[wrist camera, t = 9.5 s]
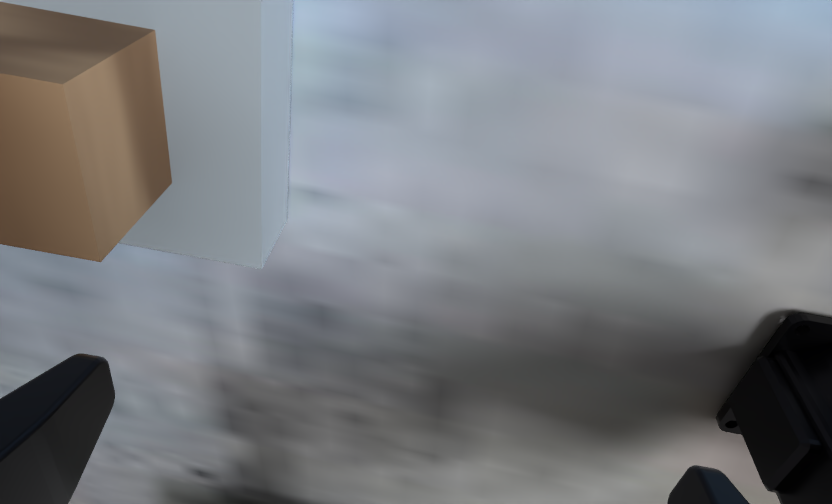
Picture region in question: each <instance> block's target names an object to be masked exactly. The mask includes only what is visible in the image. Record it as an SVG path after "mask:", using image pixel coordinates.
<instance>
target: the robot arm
mask: <svg viewBox="0 0 832 504" xmlns="http://www.w3.org/2000/svg"><path fill="white" fill-rule="evenodd" d="M802 325H803V326H802ZM799 326H802V327H799ZM797 327H799V328H797ZM114 399H115V390H114V386H113V381H112V377H111V373H110V368H109V364H108V361H107V360H106V359H105V358H103V357H99V356H94V355H88V354H76V355H73V356H71V357H69V358H68V359H66V360H64V361H63V362H61V363H59V364H58V365H56V366H54V367H53V368H51V369H49V370H48V371H46V372H44V373H43V374H41V375H39V376H38V377H36V378H34V379H33V380H31V381H29V382H28V383H26V384H24V385H23V386H21V387H19V388H17V389H16V390H14V391H12V392H11V393H9V394H7V395H6V396H4V397H2V398H1V399H0V504H68V503H69V501H70V499H71V497H72V495H73V493H74V491H75V489H76V487H77V484H78V482H79V480H80V478H81V476H82V473H83V471H84V469H85V467H86V465H87V462H88V460H89V458H90V456H91V454H92V451H93V449H94V447H95V445H96V443H97V440H98V438H99V436H100V434H101V432H102V429H103V427H104V425H105V423H106V420H107V418H108V416H109V414H110V412H111V409H112V407H113V404H114ZM716 420H717V423H718V425H719V428H720V429H721V430H723V431H725V432H730V433H736V434H741V435H743V437H744V440H745V442H746V445H747V447H748V449H749V452H750V454H751V456H752V459H753V461H754V464H755V466H756V468H757V471H758V473H759V475H760V478H761V480H762V482H763V484H764V486H765V487H766V489H767V490H768V491H770V492H776V494H777V496H778V499H779V501H780V503H781V504H832V318H828V317H823V316H817V315H812V314H806V313H797V314H793V315H791V316H789V317H787V318H786V319H785V320H784V322H783V323H782V324H781V326H780V327H779V329H778V330H777V331H776V333H775V334H774V336H773V337H772V338H771V340H770V341H769V343H768V344H767V345H766V347H765V348H764V350H763V351H762V352H761V354H760V355H759V357H758V358H757V359H756V361H755V362H754V364H753V365H752V366H751V368H750V369H749V371H748V372H747V373H746V375H745V376H744V378H743V379H742V380H741V382H740V383H739V385H738V386H737V387H736V389H735V390H734V392H733V393H732V394H731V396H730V397H729V399H728V400H727V401H726V403H725V404H724V406H723V407H722V408H721V410H720V411H719V413H718V414H717V416H716ZM668 504H749V503H748V501H747V500H746V499H745V498H744V497H743V496H742V494H741V493H740V492H739V491H738V490H737V488H736V487H735V486H734V485H733V484H732V482H731V481H730V480H729V479H728V478H727V477H726V476H725V474H723V473H722V472H721V471H719V470H717V469H714V468H708V467H703V466H697V465H694V466H691V467H689V468H688V470H687V471H686V472H685V474H684V475H683V476H682V478H681V479H680V480H679V482H678V483H677V485H676V486H675V487H674V489H673V490H672V491H671V493H670V495H669V498H668Z"/></svg>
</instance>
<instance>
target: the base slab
mask: <svg viewBox="0 0 832 504" xmlns="http://www.w3.org/2000/svg"><path fill="white" fill-rule="evenodd" d="M0 2H5V3H11V4H16V5H22V6H27V7H33V8H38V9H43V10H49V11H54V12H60V13H65V14H71V15H76V16H82V17H87V18H93V19H98V20H104V21H109V22H115V23H120V24H126V25H131V26H137V27H142V28H147V29H153V30H155V33H156V42H157V51H158V60H159V69H160V78H161V87H162V96H163V105H164V114H165V123H166V132H167V141H168V150H169V159H170V168H171V177H172V184H171V185H170V186H169V187H168V188H167V189H166V190H165V191H164V193H163V194H162V195H161V196H160V197H159V198H158V199H157V200H156V201H155V203H154V204H153V205H152V206H151V207H150V208H149V209H148V210H147V211H146V212H145V214H144V215H143V216H142V217H141V218H140V219H139V220H138V221H137V222H136V224H135V225H134V226H133V227H132V228H131V229H130V230H129V231H128V232H127V234H126V235H125V236H124V237H123V238H122V239H121V240H120V241H119V242H118V243H121V244H126V245H131V246H137V247H142V248H148V249H153V250H159V251H164V252H170V253H175V254H180V255H186V256H191V257H197V258H202V259H208V260H213V261H219V262H224V263H230V264H235V265H240V266H246V267H251V268H257V269H262V268H263V266H264V264H265V262H266V260H267V258H268V256H269V254H270V252H271V251H272V249H273V247H274V245H275V243H276V241H277V239H278V237H279V235H280V233H281V231H282V229H283V227H284V225H285V224H286V222H287V208H288V172H289V135H290V98H291V61H292V24H293V0H0Z"/></svg>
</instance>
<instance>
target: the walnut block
mask: <svg viewBox="0 0 832 504" xmlns="http://www.w3.org/2000/svg"><path fill="white" fill-rule="evenodd" d="M171 184H172V177H171V168H170V159H169V150H168V141H167V132H166V123H165V114H164V105H163V96H162V87H161V78H160V69H159V60H158V51H157V42H156V33H155V30H153V29H147V28H142V27H137V26H131V25H126V24H120V23H115V22H109V21H104V20H98V19H93V18H87V17H82V16H76V15H71V14H65V13H60V12H54V11H49V10H43V9H38V8H33V7H27V6H22V5H16V4H11V3H5V2H0V244H3V245H9V246H14V247H20V248H25V249H31V250H36V251H42V252H48V253H53V254H59V255H64V256H70V257H75V258H81V259H86V260H92V261H97V262H101V261H102V260H103V259H104V258H105V257H106V256H107V255H108V253H109V252H110V251H111V250H112V249H113V248H114V247H115V246H116V245H117V243H118V242H119V241H120V240H121V239H122V238H123V237H124V236H125V235H126V234H127V232H128V231H129V230H130V229H131V228H132V227H133V226H134V225H135V224H136V222H137V221H138V220H139V219H140V218H141V217H142V216H143V215H144V214H145V212H146V211H147V210H148V209H149V208H150V207H151V206H152V205H153V204H154V203H155V201H156V200H157V199H158V198H159V197H160V196H161V195H162V194H163V193H164V191H165V190H166V189H167V188H168V187H169V186H170V185H171Z"/></svg>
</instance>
